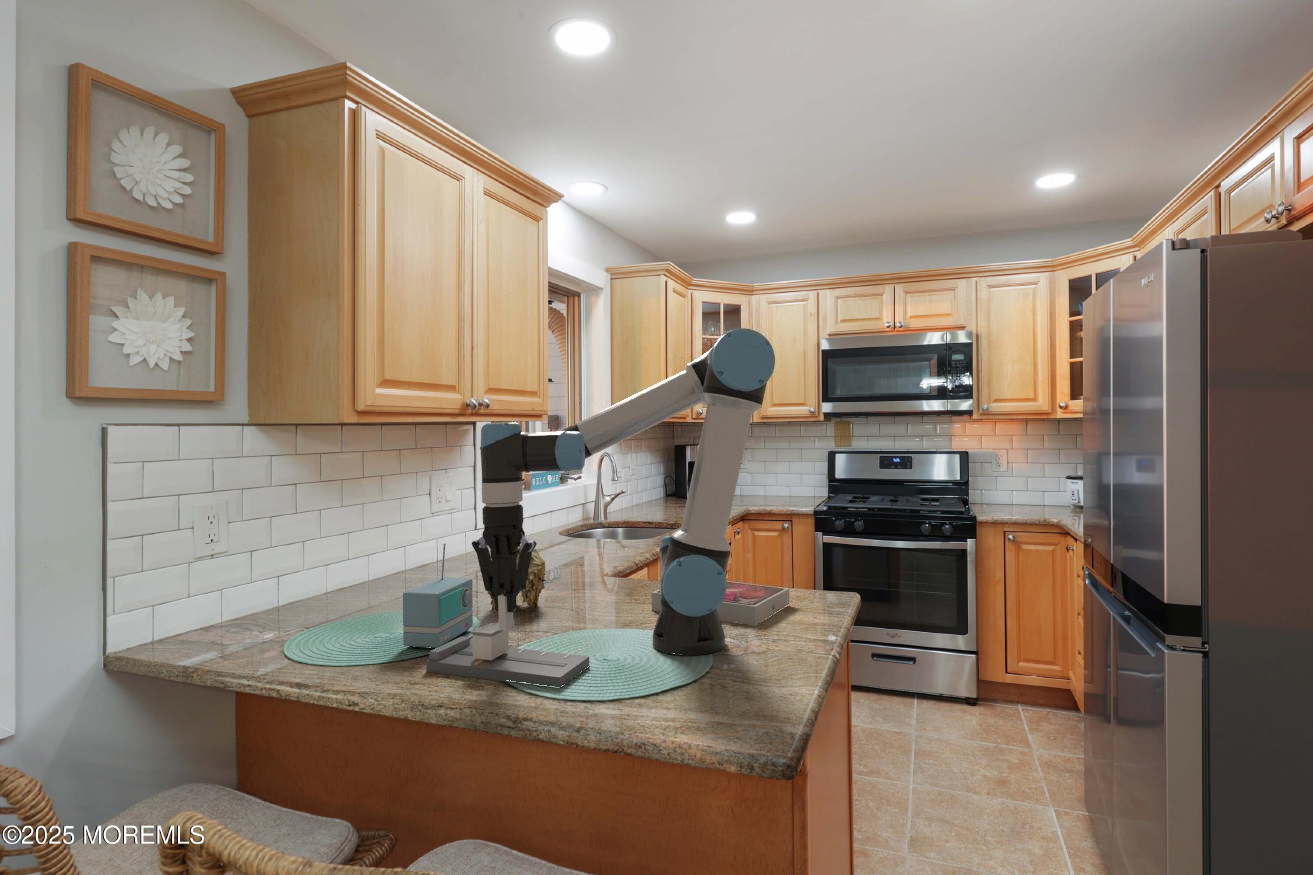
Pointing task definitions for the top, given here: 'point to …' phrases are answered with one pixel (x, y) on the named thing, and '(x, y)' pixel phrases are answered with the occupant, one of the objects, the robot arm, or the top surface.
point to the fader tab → (490, 642)
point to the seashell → (530, 580)
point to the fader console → (506, 664)
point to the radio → (437, 611)
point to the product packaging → (744, 602)
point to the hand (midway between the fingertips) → (506, 628)
